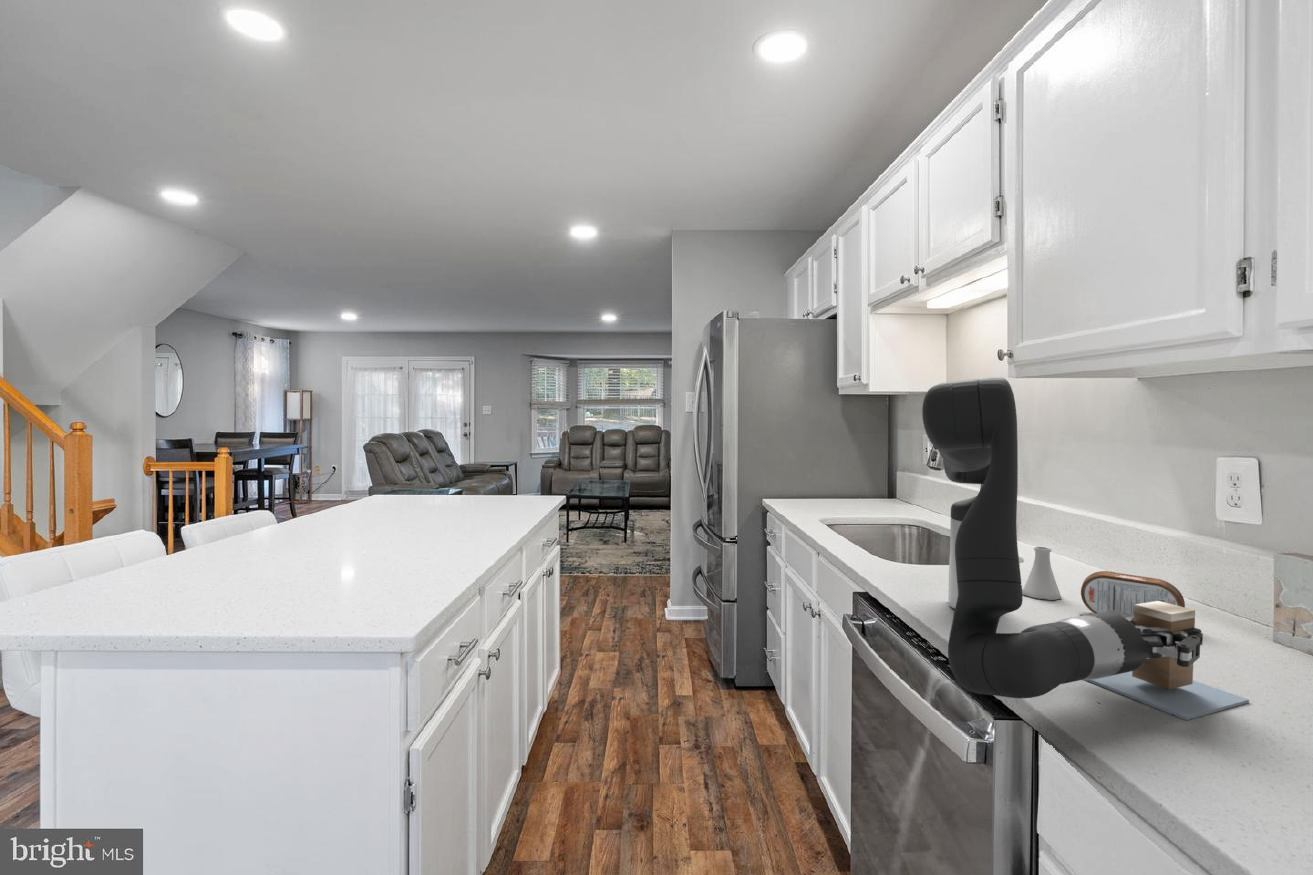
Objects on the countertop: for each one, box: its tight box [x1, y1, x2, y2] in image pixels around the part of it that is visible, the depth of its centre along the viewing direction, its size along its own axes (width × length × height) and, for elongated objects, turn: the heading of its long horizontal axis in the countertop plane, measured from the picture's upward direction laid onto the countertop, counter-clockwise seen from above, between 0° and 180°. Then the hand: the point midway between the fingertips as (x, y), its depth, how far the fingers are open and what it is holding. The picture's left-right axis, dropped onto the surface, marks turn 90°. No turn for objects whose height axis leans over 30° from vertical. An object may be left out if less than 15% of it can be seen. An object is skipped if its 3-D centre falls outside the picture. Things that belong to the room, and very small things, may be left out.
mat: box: [1085, 671, 1250, 721], centre depth 86 cm, size 13×13×1 cm
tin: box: [1080, 570, 1186, 618], centre depth 114 cm, size 15×3×8 cm, turn 48°
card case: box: [1132, 601, 1196, 690], centre depth 85 cm, size 4×5×10 cm
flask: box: [1022, 545, 1062, 601], centre depth 130 cm, size 7×7×10 cm
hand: (1176, 629), depth 86 cm, fingers closed on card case, 4 cm apart
